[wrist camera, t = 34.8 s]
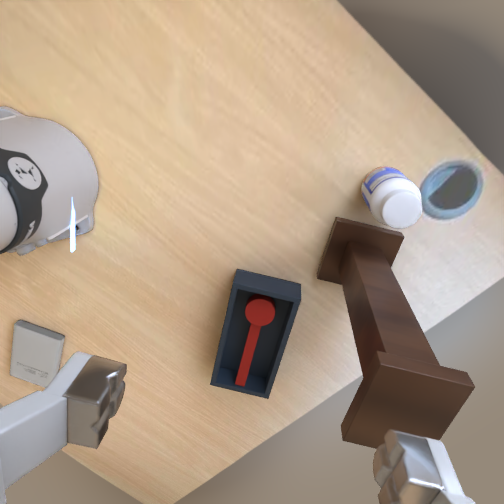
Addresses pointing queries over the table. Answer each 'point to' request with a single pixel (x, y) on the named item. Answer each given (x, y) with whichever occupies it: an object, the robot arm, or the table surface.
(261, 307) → the red lever with knob
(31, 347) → the hard drive
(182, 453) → the table surface
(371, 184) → the pill bottle
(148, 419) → the table surface
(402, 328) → the stand
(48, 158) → the robot arm
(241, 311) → the bin
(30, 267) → the table surface
